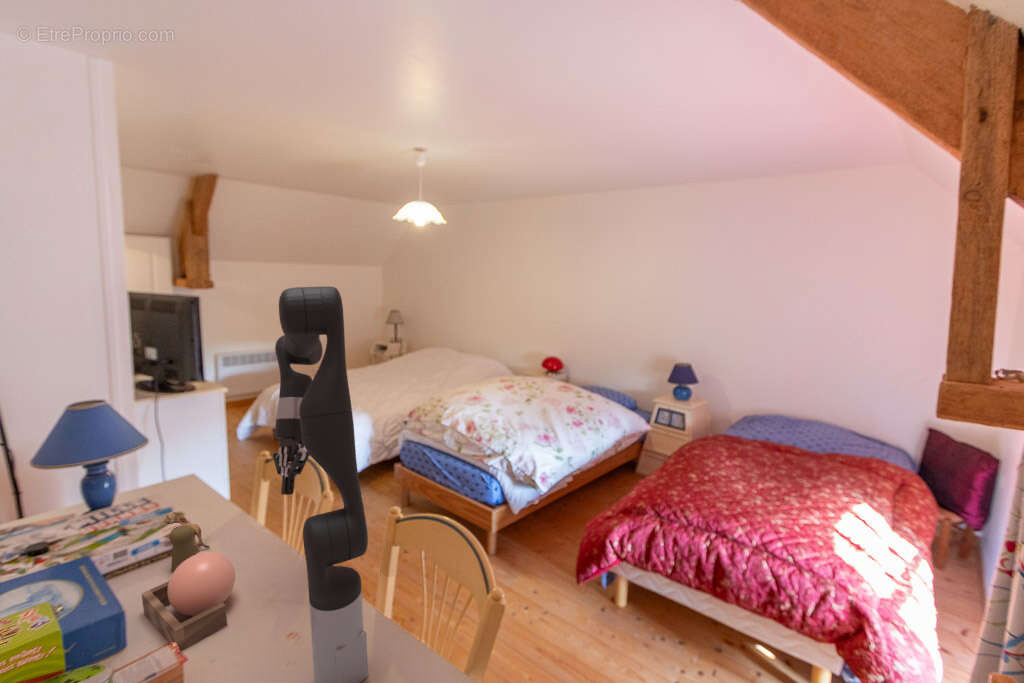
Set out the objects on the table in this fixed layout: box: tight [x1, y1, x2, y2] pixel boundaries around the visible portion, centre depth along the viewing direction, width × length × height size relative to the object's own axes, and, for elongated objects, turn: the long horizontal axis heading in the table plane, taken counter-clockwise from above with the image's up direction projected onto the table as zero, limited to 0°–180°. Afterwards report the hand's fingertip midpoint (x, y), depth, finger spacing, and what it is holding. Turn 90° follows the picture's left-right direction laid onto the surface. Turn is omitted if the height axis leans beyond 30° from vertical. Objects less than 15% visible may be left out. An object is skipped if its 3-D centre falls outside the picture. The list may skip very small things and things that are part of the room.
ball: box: [167, 551, 236, 617], centre depth 110 cm, size 13×13×13 cm
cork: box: [168, 525, 197, 574], centre depth 125 cm, size 6×6×11 cm
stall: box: [141, 580, 228, 652], centre depth 107 cm, size 19×10×5 cm, turn 54°
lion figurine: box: [160, 511, 210, 553], centre depth 135 cm, size 15×5×9 cm, turn 75°
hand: (287, 494), depth 111 cm, fingers closed
